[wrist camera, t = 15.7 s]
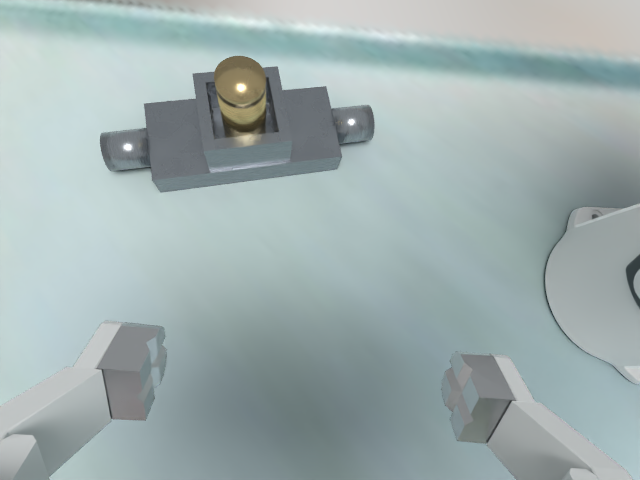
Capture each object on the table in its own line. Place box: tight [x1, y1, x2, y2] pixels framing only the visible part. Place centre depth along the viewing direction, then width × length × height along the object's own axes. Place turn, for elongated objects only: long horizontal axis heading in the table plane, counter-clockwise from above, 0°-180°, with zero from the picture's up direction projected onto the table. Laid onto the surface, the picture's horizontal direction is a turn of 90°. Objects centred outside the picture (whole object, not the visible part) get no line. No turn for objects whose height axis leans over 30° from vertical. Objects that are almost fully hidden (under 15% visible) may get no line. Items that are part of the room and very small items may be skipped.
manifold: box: [100, 67, 374, 192], centre depth 39 cm, size 26×8×7 cm, turn 101°
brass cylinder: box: [214, 56, 266, 138], centre depth 36 cm, size 4×4×8 cm
